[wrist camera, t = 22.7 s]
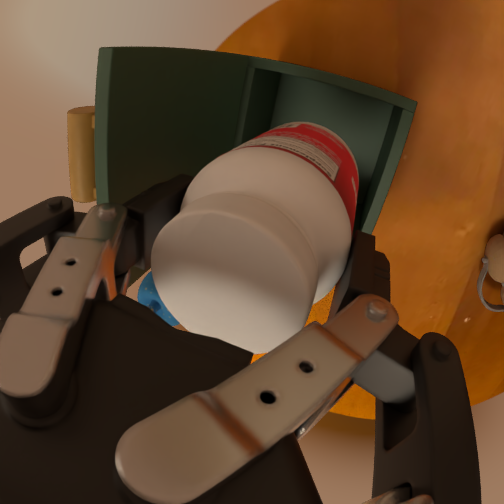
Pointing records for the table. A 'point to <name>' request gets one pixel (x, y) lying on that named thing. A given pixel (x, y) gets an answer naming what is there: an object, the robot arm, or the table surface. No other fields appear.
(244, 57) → the lid
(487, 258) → the alarm clock
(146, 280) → the ornament
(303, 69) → the chest
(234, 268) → the pill bottle
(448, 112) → the table surface
